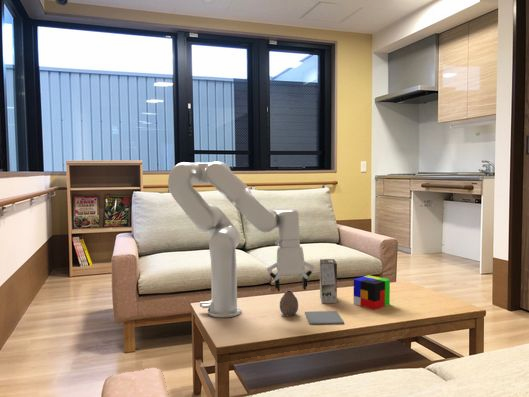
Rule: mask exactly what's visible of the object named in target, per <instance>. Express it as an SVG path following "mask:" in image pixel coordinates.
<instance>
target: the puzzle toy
mask: <svg viewBox="0 0 529 397" xmlns="http://www.w3.org/2000/svg"><path fill="white" fill-rule="evenodd" d="M390 284H391V280H390V279H388V278H384V277H379V276H374V275H365V276H360V277H357V278H354V279H353V305H356V306H360V307H362V308H363V307H364V308H367V309H371V310H374V311H377V310H378V309H382V308H383V307H386V306H388V305H390V302H391V300H390V296H391V295H390V294H391V293H390V292H391V289H390V288H391V286H390Z"/></svg>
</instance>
